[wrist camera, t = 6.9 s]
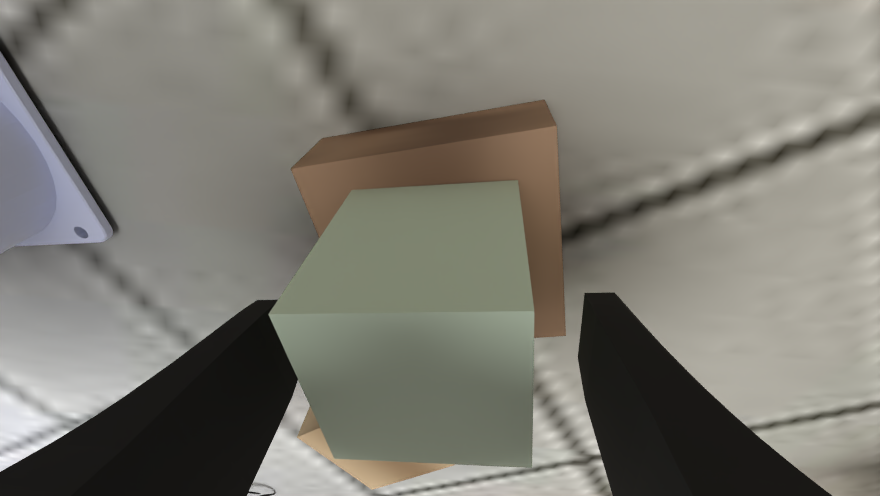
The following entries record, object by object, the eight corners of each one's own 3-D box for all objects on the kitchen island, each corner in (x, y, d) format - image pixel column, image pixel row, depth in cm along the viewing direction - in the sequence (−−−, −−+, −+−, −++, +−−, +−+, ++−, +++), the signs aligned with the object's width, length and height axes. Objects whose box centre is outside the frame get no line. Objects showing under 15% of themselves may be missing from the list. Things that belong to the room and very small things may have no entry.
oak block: (385, 432, 22) (372, 489, 20) (320, 381, 20) (296, 437, 18) (458, 405, 20) (454, 464, 18) (394, 345, 18) (380, 402, 16)
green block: (382, 312, 14) (334, 458, 9) (351, 189, 11) (268, 314, 7) (519, 310, 13) (532, 467, 9) (518, 179, 10) (534, 311, 6)
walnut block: (383, 295, 17) (365, 348, 15) (327, 133, 13) (290, 168, 11) (553, 279, 16) (565, 335, 13) (542, 96, 12) (556, 126, 10)
